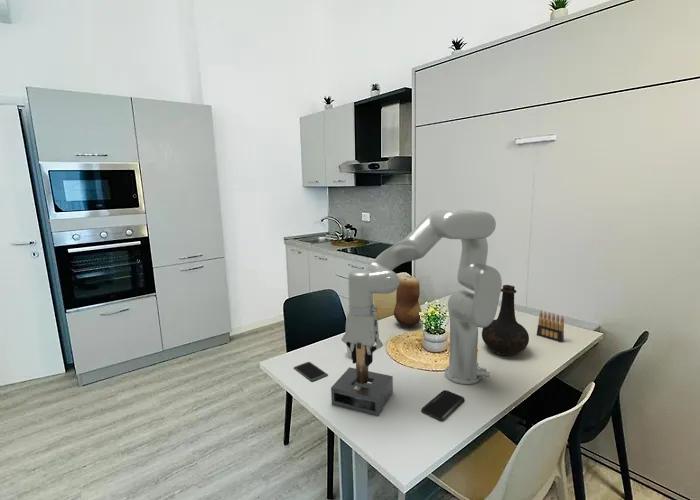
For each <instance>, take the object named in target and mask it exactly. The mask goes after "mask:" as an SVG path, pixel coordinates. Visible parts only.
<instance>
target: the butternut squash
mask: <svg viewBox="0 0 700 500" xmlns="http://www.w3.org/2000/svg"><path fill="white" fill-rule="evenodd" d="M398 277H399V286H398V288H397V289H396V291H395V292H396V293H395V294H396V295H395V296H396V297H395V306H394V310H393V316H394V318H395V320H396V321H397V322H398V323H399V324H400V325H402V326H403V327H405V328H408V329H410V328H413V327H416V326H417V325H418V324H419V322H420V321H421V319H420V315H419V312H422V308H421V306H420V301H419V299H420V294H421V292H420V290H421V289H420V287H421V286H420V280H419V279H418V278H416V277H414V276H412V275H402V276H398Z"/></svg>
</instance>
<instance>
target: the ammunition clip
mask: <svg viewBox="0 0 700 500" xmlns="http://www.w3.org/2000/svg"><path fill="white" fill-rule="evenodd" d="M564 320H565V318H564V315H561V316H559V314H557V315H555V313H552V315H551V312H550V311H549V312H548V314H547V311H546V310H545V311H544V312H543V310H542V309H541V310H540V311H539V316H538V322H537V323H538V324H537V330H536V336H537V337H541V338H543V339H547V340H551V341H554V342H558V343H561V344H562V343H563V342H564V340H565V339H564V336H565V333H564V332H565V331H564V328H565V327H564V326H565V325H564V324H565V321H564Z"/></svg>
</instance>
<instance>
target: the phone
mask: <svg viewBox="0 0 700 500" xmlns="http://www.w3.org/2000/svg"><path fill="white" fill-rule="evenodd" d="M465 400H466V399H465V397H464V396H463V395H459V394H457V393H454V392H452V391H451V390H450V391H449V390H445V389H444V390H442V391H441V392H439V393H438V394H437V395H436V396H435V397H433V398H432V399H431V400H430V401H428V402H427V403H426V404H425V405H424V406H423V407H422V408H421V409H420V411H421V413H422V414H423V415H426V416H427V417H429V418H431V419H434V420H436V421H438V422H440V423H442V422H443V423H444V422H445V421H446V420H447V419H448V418H449V417H450V416H451V415H452V414H453V413H454V412H455V411H456V410H457V409H458V408H460V407H461V406H462V405H463V404H464V403H465Z"/></svg>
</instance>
